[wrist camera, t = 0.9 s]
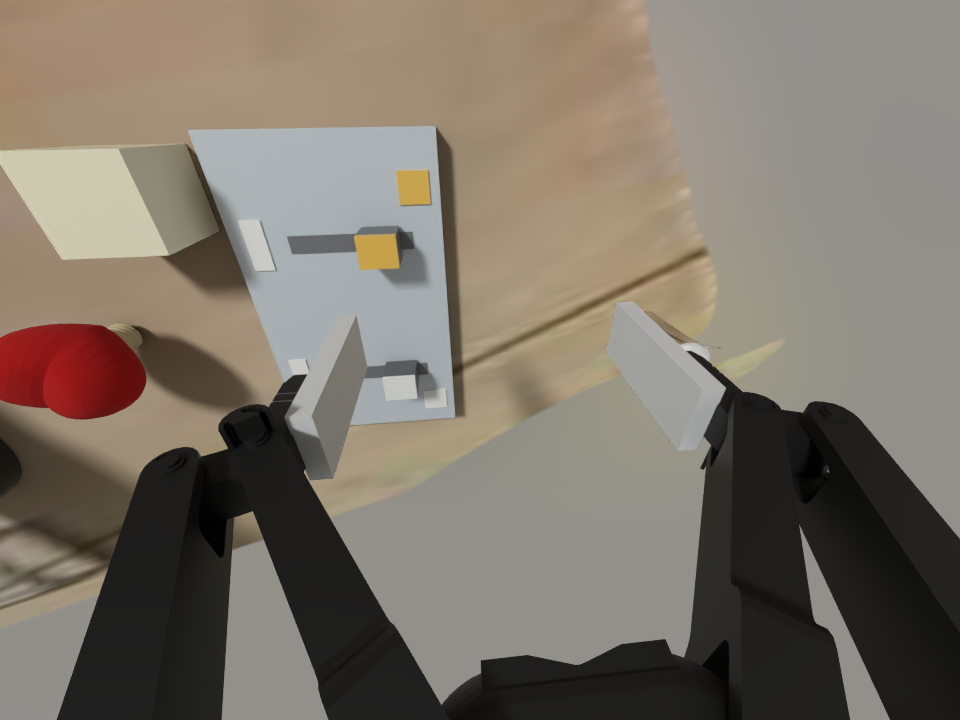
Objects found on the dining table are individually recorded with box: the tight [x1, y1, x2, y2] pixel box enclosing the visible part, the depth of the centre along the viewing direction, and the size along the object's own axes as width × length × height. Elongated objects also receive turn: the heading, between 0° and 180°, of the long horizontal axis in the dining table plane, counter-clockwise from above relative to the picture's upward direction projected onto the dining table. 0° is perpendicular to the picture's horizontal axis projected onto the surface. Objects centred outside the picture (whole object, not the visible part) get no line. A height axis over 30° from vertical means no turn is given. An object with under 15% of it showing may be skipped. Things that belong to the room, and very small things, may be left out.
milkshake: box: [643, 311, 722, 362], centre depth 35 cm, size 5×5×10 cm
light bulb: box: [0, 323, 146, 419], centre depth 30 cm, size 9×7×10 cm
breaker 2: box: [382, 360, 419, 401], centre depth 36 cm, size 3×2×3 cm
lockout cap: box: [0, 144, 220, 260], centre depth 26 cm, size 7×6×7 cm
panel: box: [188, 126, 455, 425], centre depth 34 cm, size 17×28×2 cm, turn 1°
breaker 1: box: [354, 226, 403, 270], centre depth 29 cm, size 3×2×3 cm
